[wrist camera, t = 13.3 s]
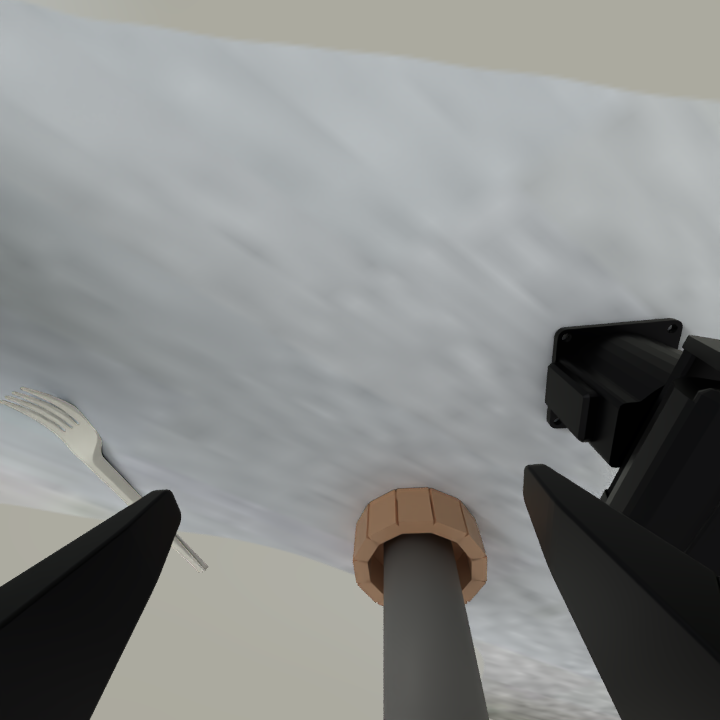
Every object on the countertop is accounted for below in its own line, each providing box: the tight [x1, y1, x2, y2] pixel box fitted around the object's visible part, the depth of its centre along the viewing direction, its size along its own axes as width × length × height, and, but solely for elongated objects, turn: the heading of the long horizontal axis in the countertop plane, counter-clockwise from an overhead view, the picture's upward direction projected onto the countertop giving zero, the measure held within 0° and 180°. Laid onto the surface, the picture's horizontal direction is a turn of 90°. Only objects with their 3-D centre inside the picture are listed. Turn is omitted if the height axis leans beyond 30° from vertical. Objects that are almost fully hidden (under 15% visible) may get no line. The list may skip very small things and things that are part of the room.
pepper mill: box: [384, 533, 489, 720], centre depth 20 cm, size 5×5×13 cm
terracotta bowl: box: [353, 487, 487, 606], centre depth 25 cm, size 9×9×3 cm
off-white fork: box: [0, 387, 208, 573], centre depth 26 cm, size 3×20×2 cm, turn 27°
